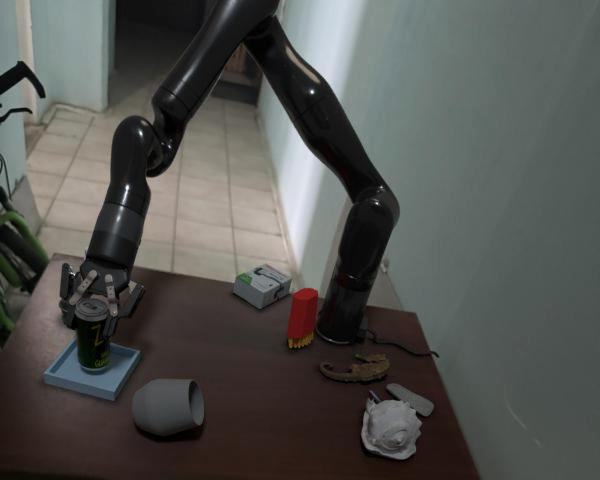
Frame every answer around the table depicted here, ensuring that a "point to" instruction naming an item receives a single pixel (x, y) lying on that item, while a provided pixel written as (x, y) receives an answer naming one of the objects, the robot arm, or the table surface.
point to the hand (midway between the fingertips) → (88, 333)
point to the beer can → (92, 334)
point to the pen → (375, 397)
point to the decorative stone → (411, 399)
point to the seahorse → (361, 369)
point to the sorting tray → (93, 372)
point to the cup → (168, 406)
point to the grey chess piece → (64, 305)
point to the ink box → (262, 285)
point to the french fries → (302, 317)
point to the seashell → (390, 429)
